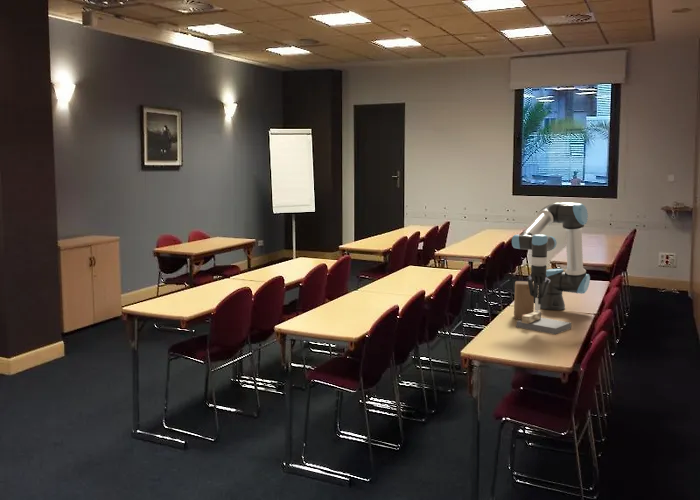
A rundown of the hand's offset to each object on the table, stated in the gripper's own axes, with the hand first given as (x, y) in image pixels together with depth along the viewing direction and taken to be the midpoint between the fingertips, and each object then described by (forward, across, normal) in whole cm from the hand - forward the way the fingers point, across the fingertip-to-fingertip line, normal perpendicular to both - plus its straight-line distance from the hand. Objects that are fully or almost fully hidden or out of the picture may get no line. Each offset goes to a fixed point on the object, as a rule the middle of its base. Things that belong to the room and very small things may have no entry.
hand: (537, 309), depth 340 cm
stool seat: (+10, -1, -6) cm, 12 cm away
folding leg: (+7, +5, -4) cm, 9 cm away
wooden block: (+11, +18, -18) cm, 28 cm away
